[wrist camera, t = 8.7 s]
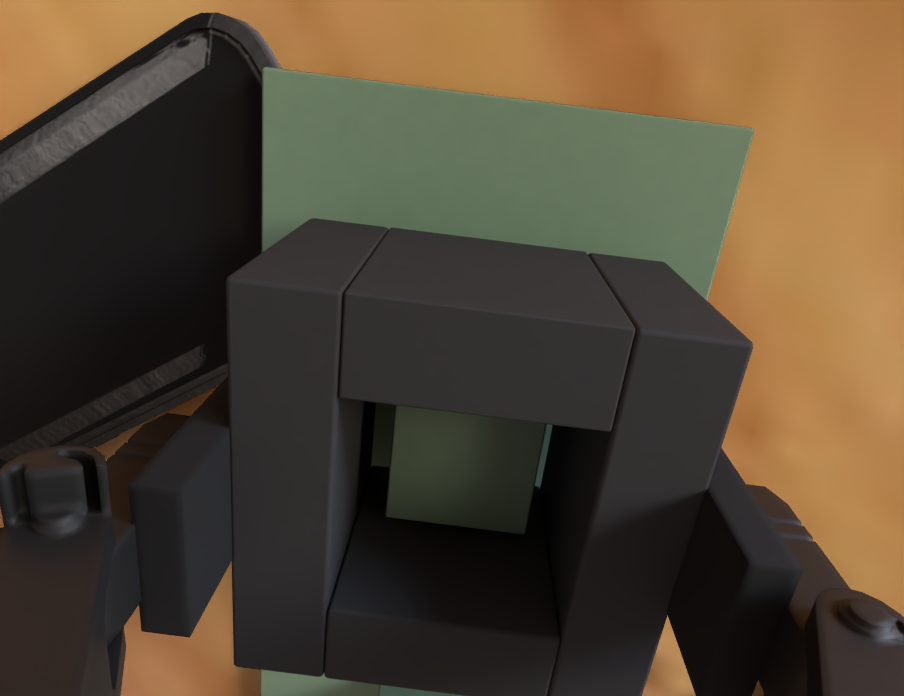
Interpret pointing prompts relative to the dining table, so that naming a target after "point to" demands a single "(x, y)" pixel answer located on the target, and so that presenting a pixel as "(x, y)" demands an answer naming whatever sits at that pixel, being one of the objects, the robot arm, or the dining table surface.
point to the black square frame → (477, 393)
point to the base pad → (494, 218)
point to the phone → (129, 236)
